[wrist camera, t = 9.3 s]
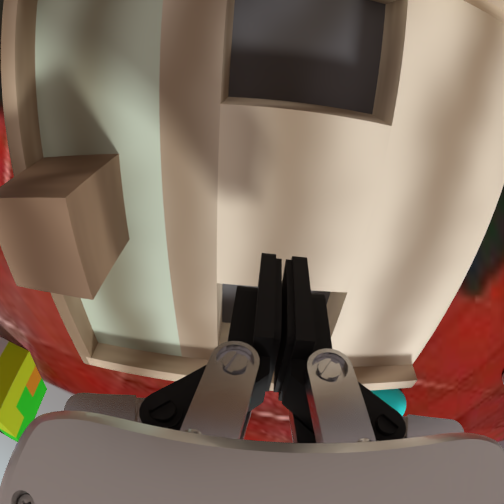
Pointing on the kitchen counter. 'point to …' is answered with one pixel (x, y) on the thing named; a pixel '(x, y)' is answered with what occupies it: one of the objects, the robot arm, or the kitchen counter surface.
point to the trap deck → (268, 161)
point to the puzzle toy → (18, 389)
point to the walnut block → (64, 223)
